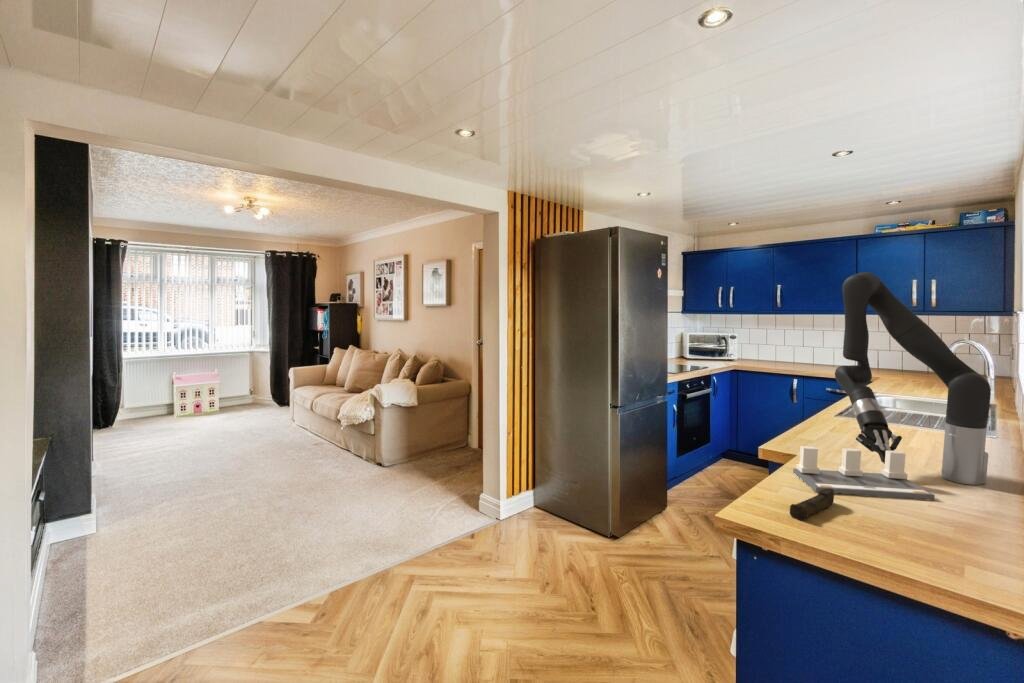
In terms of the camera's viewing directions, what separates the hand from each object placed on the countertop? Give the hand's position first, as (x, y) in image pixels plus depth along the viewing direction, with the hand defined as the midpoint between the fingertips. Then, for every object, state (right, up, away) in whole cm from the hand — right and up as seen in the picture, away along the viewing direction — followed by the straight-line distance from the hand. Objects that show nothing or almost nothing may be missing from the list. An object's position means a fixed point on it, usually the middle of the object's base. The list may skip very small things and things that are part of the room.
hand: (888, 463), depth 149 cm
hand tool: (-37, -7, -22) cm, 44 cm away
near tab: (-1, -3, -3) cm, 4 cm away
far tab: (-24, -3, +1) cm, 24 cm away
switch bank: (-13, -5, -5) cm, 15 cm away
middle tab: (-12, -3, -1) cm, 13 cm away
